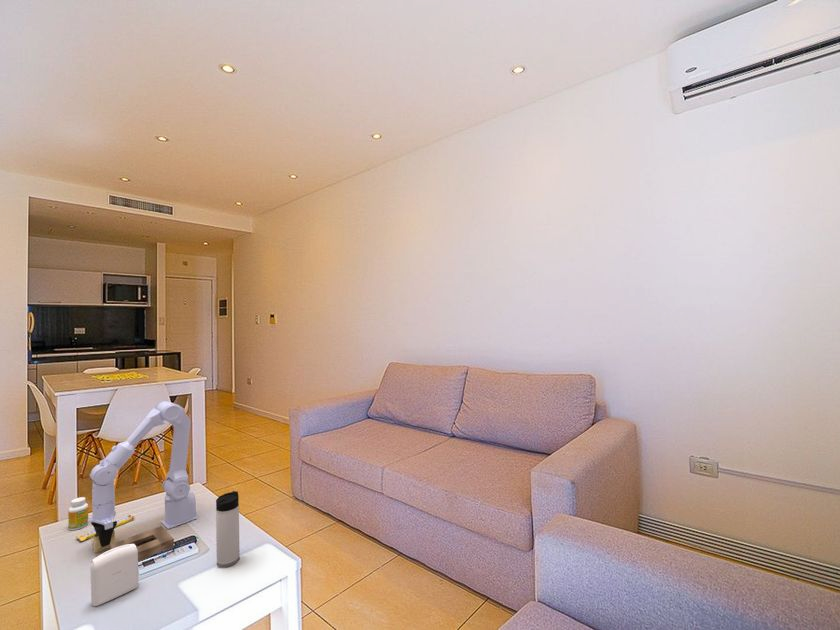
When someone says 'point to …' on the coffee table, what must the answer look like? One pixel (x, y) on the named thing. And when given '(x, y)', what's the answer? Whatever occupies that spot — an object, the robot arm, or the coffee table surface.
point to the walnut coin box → (148, 542)
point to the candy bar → (119, 523)
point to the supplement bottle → (78, 514)
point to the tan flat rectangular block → (98, 546)
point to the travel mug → (227, 529)
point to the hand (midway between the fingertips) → (104, 543)
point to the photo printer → (114, 573)
